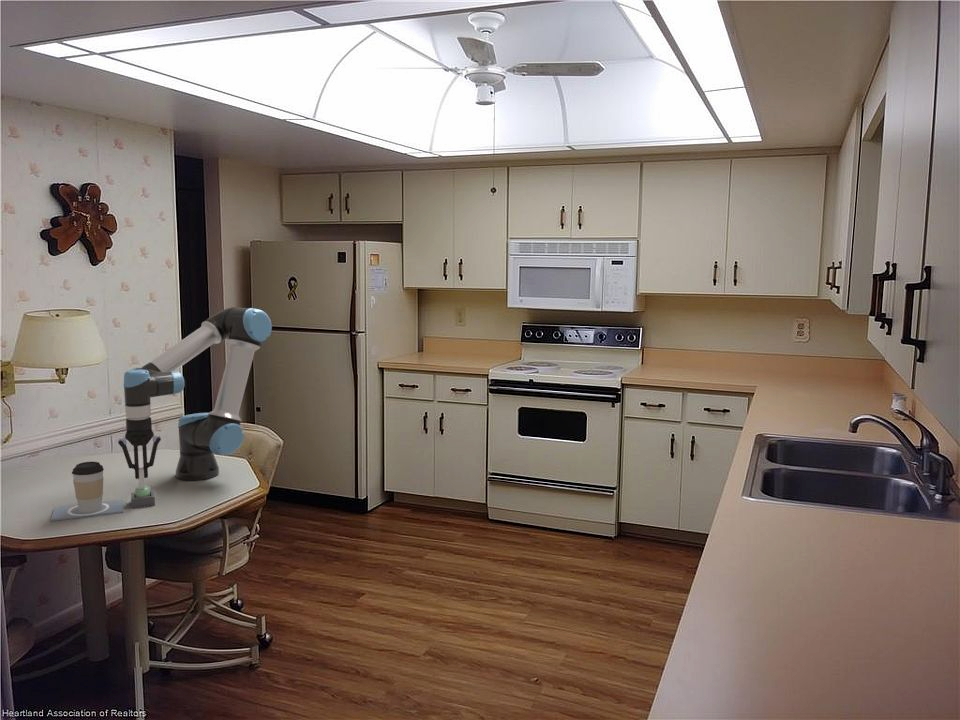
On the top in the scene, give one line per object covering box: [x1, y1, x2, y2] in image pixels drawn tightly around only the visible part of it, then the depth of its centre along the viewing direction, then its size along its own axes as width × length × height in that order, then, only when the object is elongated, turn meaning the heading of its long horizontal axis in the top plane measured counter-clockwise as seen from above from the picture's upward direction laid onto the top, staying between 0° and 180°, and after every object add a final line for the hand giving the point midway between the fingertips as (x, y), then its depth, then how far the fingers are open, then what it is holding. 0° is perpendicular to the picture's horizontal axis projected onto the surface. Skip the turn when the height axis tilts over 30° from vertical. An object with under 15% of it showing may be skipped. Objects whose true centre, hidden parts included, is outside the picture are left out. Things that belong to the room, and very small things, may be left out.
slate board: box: [50, 499, 124, 522], centre depth 240 cm, size 20×12×1 cm, turn 115°
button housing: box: [130, 490, 156, 509], centre depth 247 cm, size 7×7×3 cm
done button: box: [134, 485, 151, 498], centre depth 247 cm, size 4×4×4 cm
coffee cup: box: [71, 461, 105, 512], centre depth 239 cm, size 9×9×15 cm
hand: (142, 487), depth 247 cm, fingers closed
